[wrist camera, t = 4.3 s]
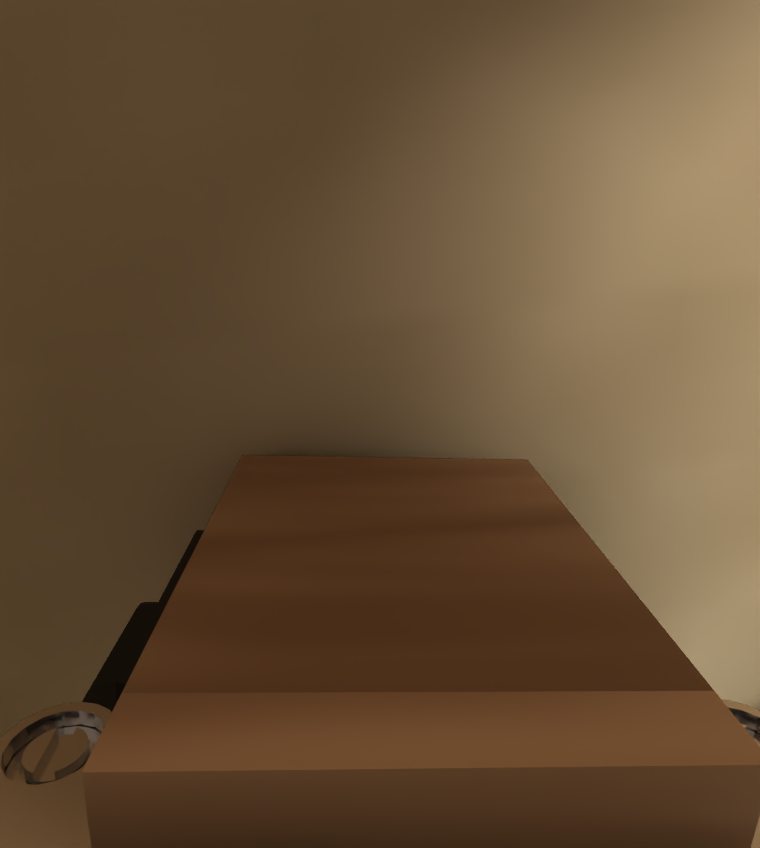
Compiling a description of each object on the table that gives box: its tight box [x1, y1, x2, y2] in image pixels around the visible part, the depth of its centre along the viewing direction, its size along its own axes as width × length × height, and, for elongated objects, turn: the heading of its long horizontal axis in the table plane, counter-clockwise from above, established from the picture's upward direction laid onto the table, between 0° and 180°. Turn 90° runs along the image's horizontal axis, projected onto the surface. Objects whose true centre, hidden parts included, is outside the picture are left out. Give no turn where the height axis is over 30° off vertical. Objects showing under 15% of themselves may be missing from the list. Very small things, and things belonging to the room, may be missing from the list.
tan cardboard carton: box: [81, 455, 760, 848], centre depth 9 cm, size 5×5×7 cm
